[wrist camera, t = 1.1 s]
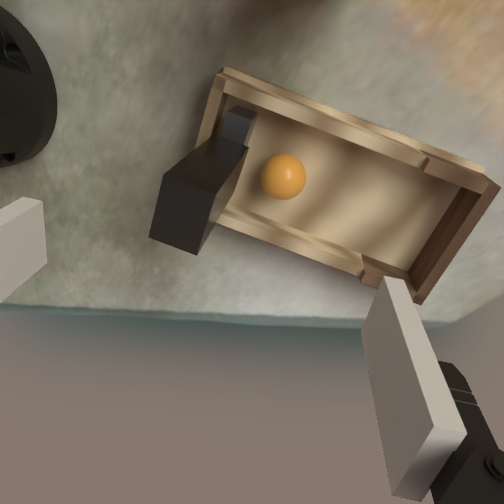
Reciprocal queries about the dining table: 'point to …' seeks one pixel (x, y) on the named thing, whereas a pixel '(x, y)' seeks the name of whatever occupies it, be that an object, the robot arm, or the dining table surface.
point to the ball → (283, 176)
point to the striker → (202, 185)
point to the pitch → (349, 187)
